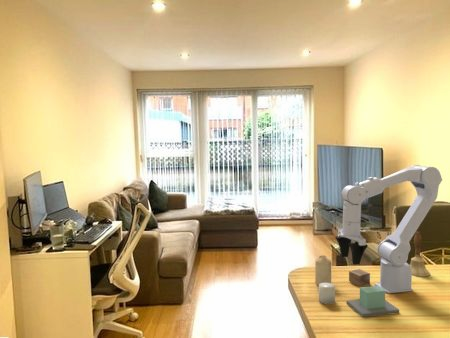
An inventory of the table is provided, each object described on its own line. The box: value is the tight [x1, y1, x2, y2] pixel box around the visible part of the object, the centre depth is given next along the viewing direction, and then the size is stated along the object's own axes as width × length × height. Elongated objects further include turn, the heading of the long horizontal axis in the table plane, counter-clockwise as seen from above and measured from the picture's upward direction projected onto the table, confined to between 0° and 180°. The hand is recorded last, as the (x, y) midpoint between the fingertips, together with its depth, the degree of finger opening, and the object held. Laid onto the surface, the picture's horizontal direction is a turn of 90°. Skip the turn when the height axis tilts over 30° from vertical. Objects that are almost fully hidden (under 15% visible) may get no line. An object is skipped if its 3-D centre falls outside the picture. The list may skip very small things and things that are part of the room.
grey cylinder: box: [318, 282, 336, 305], centre depth 118 cm, size 5×5×5 cm
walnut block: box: [348, 268, 371, 287], centre depth 132 cm, size 5×5×4 cm
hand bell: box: [409, 231, 430, 277], centre depth 140 cm, size 8×8×16 cm
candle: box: [314, 255, 332, 286], centre depth 131 cm, size 6×6×10 cm
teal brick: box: [359, 285, 386, 309], centre depth 112 cm, size 6×4×5 cm, turn 101°
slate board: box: [346, 298, 400, 318], centre depth 112 cm, size 12×9×1 cm
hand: (350, 260), depth 125 cm, fingers open, 7 cm apart
